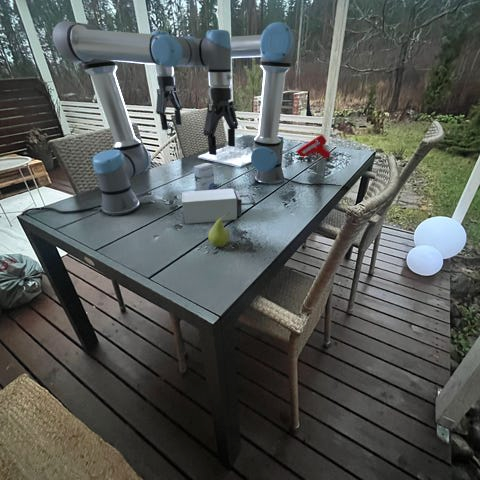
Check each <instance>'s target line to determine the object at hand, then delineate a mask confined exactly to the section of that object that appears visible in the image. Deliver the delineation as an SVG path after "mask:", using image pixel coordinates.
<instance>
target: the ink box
mask: <svg viewBox="0 0 480 480" xmlns="http://www.w3.org/2000/svg"><path fill="white" fill-rule="evenodd" d="M214 172H215V171H214V164H212V163H209V162H205V163H201V164H197V165H194V166H193V173H194V183H195V184H194V185H195V190H196V191H202V190H212V189H214V188H215V174H214Z"/></svg>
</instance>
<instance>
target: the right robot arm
mask: <svg viewBox="0 0 480 480" xmlns="http://www.w3.org/2000/svg"><path fill="white" fill-rule="evenodd" d="M150 34H155V35H162V34H168V35H170V33H169V32H168V31H167V30H153V31H151V33H150ZM181 37H182V38H188V39H197V38H196V37H195V36H193V35H192V36H190V35H184V36H181ZM202 39H204V37H203V38H202ZM230 42H231V59H239V58H240V59H241V58H261V59H260V68H261V69H262V70H263V78H262V88H261V99H260V111H259V112H260V113H259V124H258V134H257V135H256V136H255V137H254V139H253V140H254V141H253V150H252V154H251V162H252V163H251V164H252V166H253V167H254V169H256V173H255V177H254V181H255V183H258V184H259V185H262V186H263V185H264V186H279V185H281V184H283V183H284V181H288V182H291V183H294V184H298V185H302V186H332V187H333V186H334V187H342V186H341V185H336V184H337V183H326V182H325V183H324V182H323V183H322V182H318V183H316V182H315V183H304V182H299V181H295V180H292V179H290V178H286V177H285V175H284V172H283V171H284V170H283V167H282V165H283V154H284V153H283V152H284V143H285V141H284V137H283V135H280V134H279V130H280V129H279V128H280V121H281V114H282V105H283V97H284V89H285V83H286V82H285V81H286V74H287V72H288V71H289V70H290V69H291V66H292V59H293V54H294V53H295V51H296V48H297V35H296V33H295V32H294V30H293V29H292V28H291V27H290V26H289V25H288V24H287V23H285V22H281V21H274V22H272V23H270V24H268V25H266V27H265V28H264V30H263V31H262V33H261V34H256V35H255V34H254V35H251V34H250V35H236V36H230ZM154 69H155V74H156V75H157V76H156V81H157V86H158V87H160V88H157V89H156V110H155V113H156V114H157V115H159V119H160V125H161V130H162V131H169V126H168V119H167V114H166V109H167V105H168V102H169V101H170V102H171V105H172V107H173V108H174V118H175V125H177V126H182V115H181V111H182V110H183V105H182V102H181V98H180V95H179V93H178V88H177V86H176V81H175V80H176V79H175V76H174V74H175V71H174V67H165V66H162V65H154ZM343 185H344V186H343V187H344V188H345V189H347V190H349V187H348V186H347V185H345V184H343Z"/></svg>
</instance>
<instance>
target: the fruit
mask: <svg viewBox="0 0 480 480" xmlns="http://www.w3.org/2000/svg"><path fill="white" fill-rule="evenodd" d="M228 214H229V212H228V213H227V214H226V215H225V216H227V215H228ZM225 216H224V217H225ZM224 217H222V218H220V219H219V220H217V221H215V223H214V224H213V226H212V227H211V229H209V231H208V234H207V238H208V241H209V243H210V244H211V245H212V246H213V247H215V248H222V247H225V245H227V243H228V241H229V239H230V233H229V231H228V230H227V229H226V228H225V227H224V224H223V223H224V222H223V218H224Z"/></svg>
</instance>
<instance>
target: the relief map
mask: <svg viewBox="0 0 480 480" xmlns="http://www.w3.org/2000/svg"><path fill="white" fill-rule="evenodd" d="M252 152H253V150H252V149H251V148H250V147H245V148H243V149H242V148H239V147H237V145H235V147H231V146H228V145H226V146H223V147H221V148H218V149H216V155H211V154H209V151H207V152H206V153H203V154H200V155H198V156H197V158H198V159H202V160H206V161H210V162H213V163H218V164H223V165H226V166H227V165H228V166H232V167H235V168H236V167H237V168H242V167H245V166H247V165H249V164H252V162H251V154H252Z"/></svg>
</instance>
